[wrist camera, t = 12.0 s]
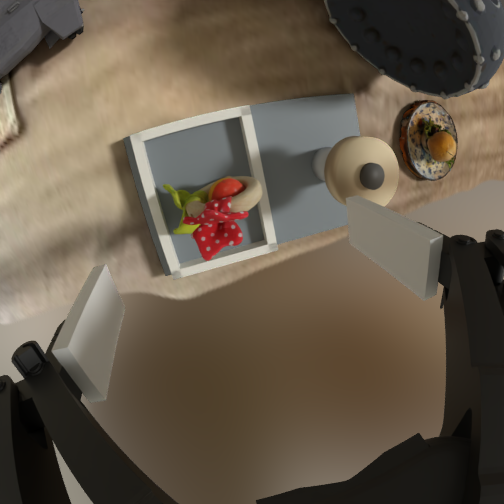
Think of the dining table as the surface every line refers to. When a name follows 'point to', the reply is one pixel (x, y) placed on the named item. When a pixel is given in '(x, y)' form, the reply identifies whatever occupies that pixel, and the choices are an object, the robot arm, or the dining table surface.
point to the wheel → (361, 170)
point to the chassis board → (243, 173)
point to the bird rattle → (216, 212)
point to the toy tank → (34, 27)
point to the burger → (428, 140)
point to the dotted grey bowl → (426, 40)
